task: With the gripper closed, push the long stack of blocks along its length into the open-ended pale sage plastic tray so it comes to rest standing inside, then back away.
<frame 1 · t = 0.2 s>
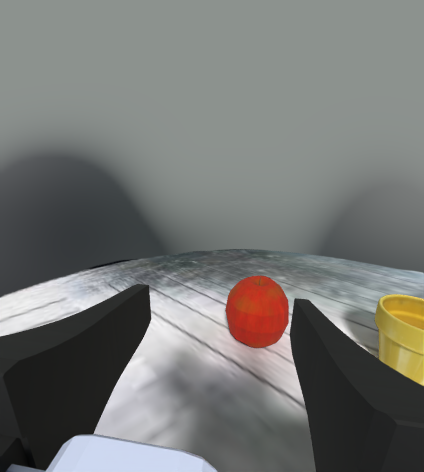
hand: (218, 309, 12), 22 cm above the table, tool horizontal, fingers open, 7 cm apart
apple: (254, 338, 42), on the table
plant pot: (403, 370, 37), on the table
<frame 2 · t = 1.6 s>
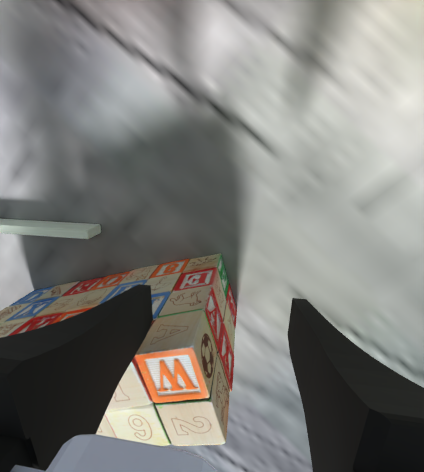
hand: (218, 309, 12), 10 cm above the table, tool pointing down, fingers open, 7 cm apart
stack of blocks: (131, 297, 26), on the table
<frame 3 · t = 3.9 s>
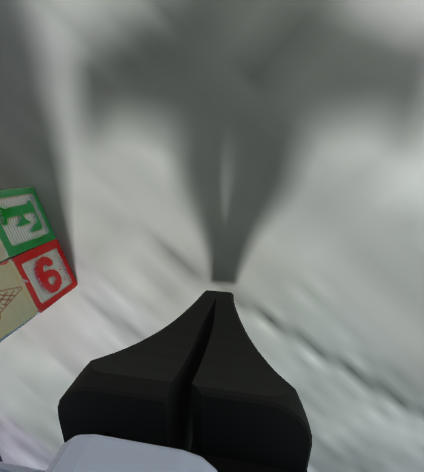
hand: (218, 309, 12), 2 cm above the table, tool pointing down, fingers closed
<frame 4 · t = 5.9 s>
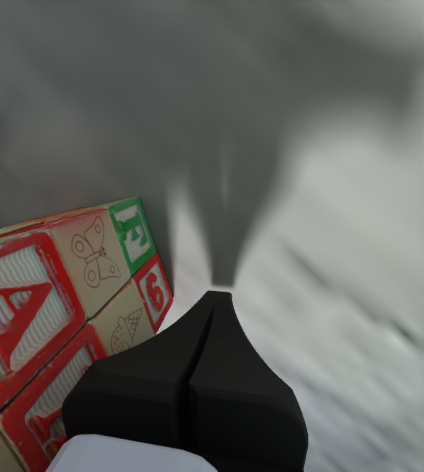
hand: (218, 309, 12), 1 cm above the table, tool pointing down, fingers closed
stack of blocks: (6, 279, 16), on the table, touching gripper
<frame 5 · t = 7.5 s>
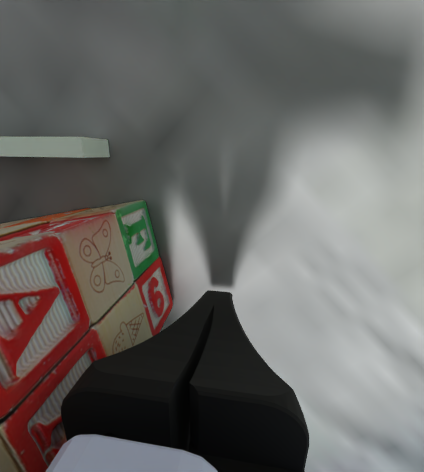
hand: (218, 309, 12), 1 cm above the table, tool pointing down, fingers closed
stack of blocks: (4, 274, 16), resting in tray, touching gripper
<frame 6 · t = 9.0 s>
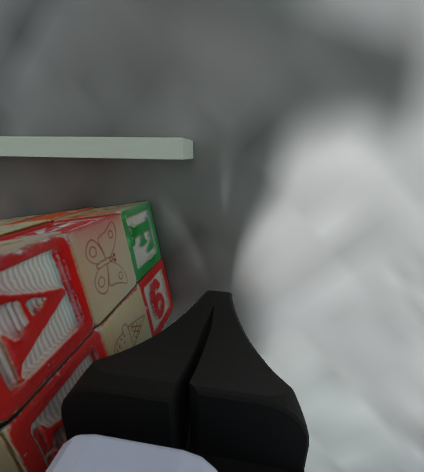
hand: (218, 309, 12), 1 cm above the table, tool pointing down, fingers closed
stack of blocks: (3, 270, 15), resting in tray, touching gripper
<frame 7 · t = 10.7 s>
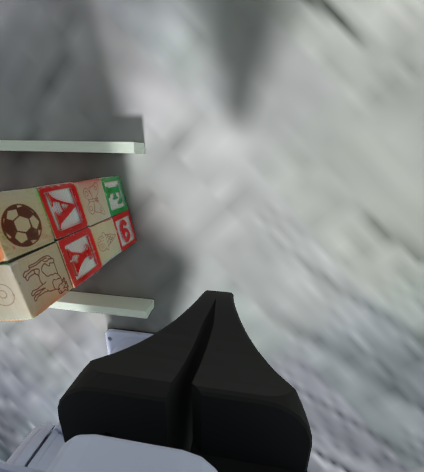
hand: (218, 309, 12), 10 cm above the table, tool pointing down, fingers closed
stack of blocks: (33, 222, 25), resting in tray
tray: (15, 224, 25), on the table
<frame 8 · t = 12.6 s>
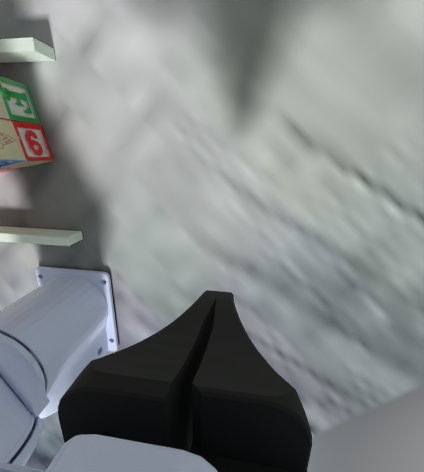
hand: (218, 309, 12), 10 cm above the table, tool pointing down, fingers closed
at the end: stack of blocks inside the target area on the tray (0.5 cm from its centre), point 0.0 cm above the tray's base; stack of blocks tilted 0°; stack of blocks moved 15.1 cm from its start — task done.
